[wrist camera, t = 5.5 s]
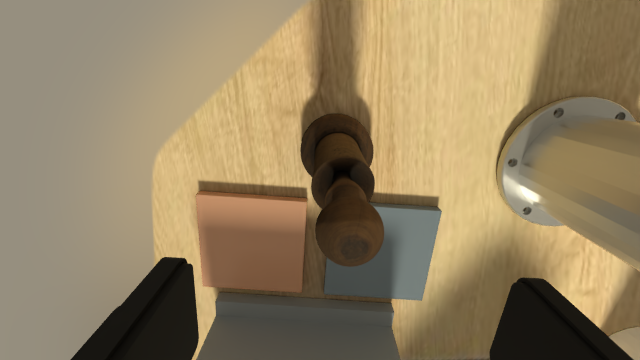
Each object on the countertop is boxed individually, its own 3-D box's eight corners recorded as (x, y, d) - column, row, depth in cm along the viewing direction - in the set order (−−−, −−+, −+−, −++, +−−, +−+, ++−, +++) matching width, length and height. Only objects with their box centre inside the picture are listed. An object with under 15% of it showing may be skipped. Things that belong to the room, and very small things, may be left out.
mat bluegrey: (437, 207, 31) (441, 211, 30) (419, 294, 34) (421, 300, 33) (331, 199, 31) (331, 203, 30) (323, 288, 34) (323, 294, 33)
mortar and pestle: (376, 118, 28) (457, 184, 11) (363, 183, 30) (414, 321, 13) (306, 108, 28) (277, 159, 11) (298, 174, 30) (263, 303, 13)
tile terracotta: (307, 198, 31) (306, 202, 30) (302, 286, 34) (301, 292, 33) (200, 190, 31) (196, 194, 30) (206, 280, 34) (202, 286, 33)
